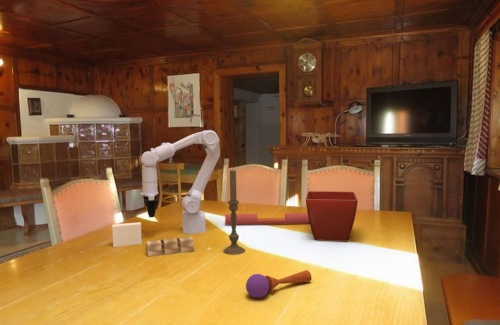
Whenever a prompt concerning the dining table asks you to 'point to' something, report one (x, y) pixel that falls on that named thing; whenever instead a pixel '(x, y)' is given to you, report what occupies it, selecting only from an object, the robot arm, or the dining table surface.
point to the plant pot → (331, 214)
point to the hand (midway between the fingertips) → (151, 214)
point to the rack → (163, 248)
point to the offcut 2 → (186, 244)
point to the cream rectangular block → (127, 234)
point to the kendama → (272, 283)
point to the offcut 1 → (154, 247)
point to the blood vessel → (268, 219)
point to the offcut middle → (170, 246)
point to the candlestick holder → (233, 218)
